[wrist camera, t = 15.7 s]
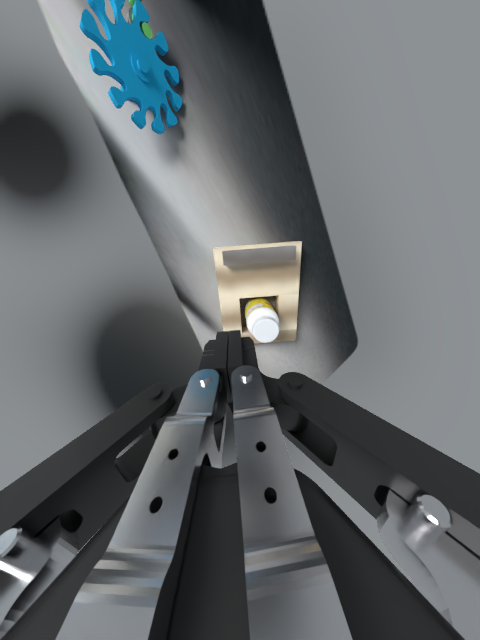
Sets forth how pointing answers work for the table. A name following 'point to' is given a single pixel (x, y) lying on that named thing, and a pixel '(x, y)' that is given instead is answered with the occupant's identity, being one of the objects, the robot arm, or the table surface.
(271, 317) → the supplement bottle
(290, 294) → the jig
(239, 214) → the table surface
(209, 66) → the table surface
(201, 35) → the table surface
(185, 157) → the table surface
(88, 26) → the blue lobed piece
